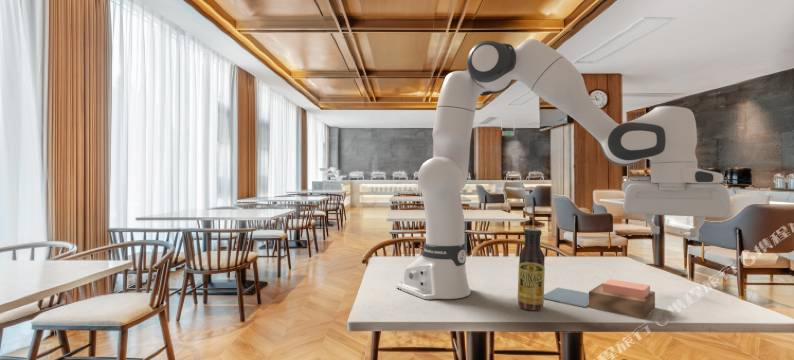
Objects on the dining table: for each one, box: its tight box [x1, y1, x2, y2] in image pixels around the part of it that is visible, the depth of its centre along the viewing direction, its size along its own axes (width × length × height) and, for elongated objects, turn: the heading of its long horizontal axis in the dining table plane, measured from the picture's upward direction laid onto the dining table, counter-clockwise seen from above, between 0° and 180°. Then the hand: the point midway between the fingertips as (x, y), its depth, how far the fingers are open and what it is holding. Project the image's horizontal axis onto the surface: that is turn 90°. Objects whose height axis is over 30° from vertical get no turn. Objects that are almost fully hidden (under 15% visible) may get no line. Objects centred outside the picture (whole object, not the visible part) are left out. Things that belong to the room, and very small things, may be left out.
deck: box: [588, 282, 656, 320], centre depth 96 cm, size 12×11×4 cm
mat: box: [544, 287, 589, 309], centre depth 104 cm, size 12×13×1 cm
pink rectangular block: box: [602, 278, 651, 299], centre depth 95 cm, size 9×6×2 cm, turn 46°
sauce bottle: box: [517, 228, 546, 311], centre depth 96 cm, size 6×6×20 cm
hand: (674, 235), depth 88 cm, fingers open, 6 cm apart
